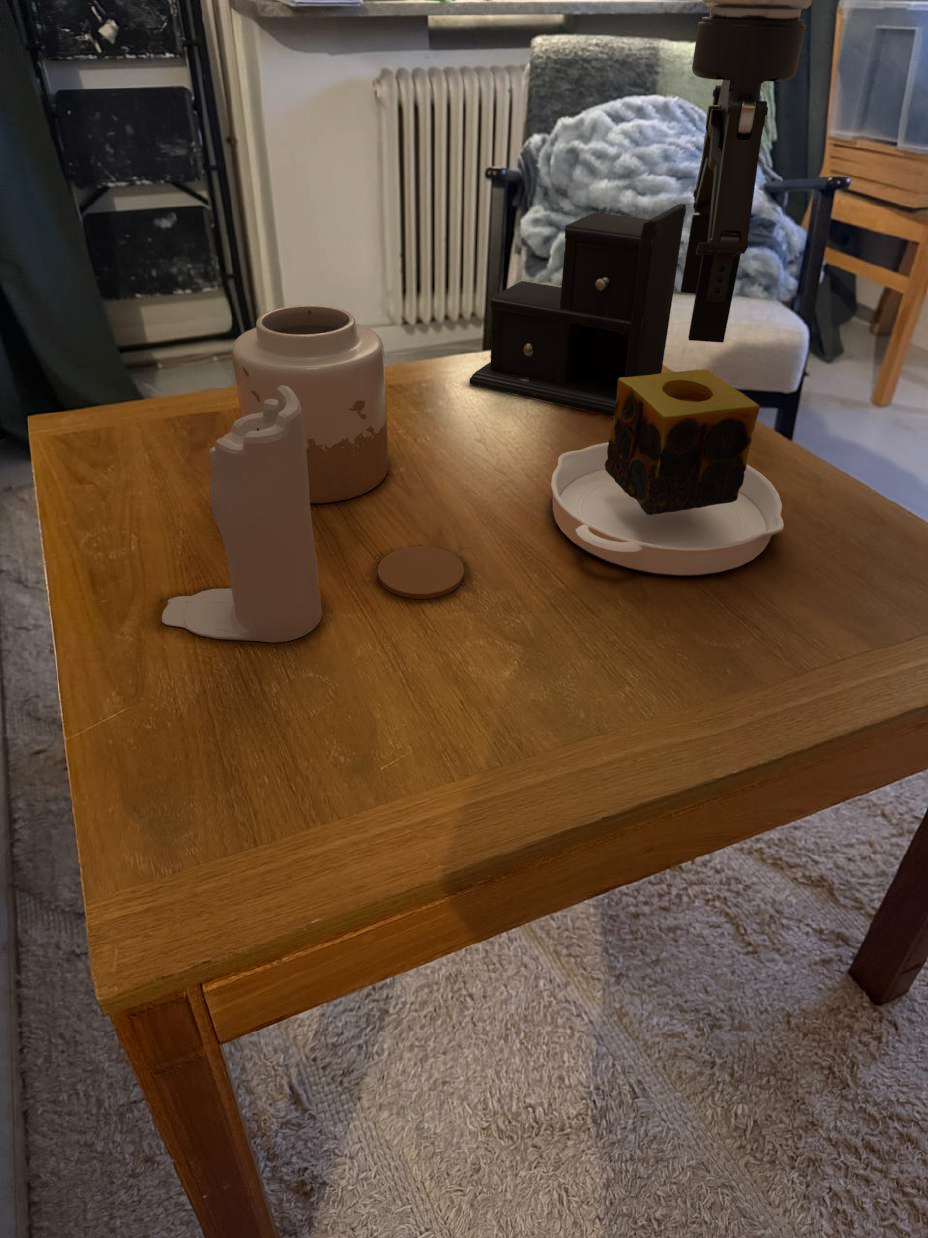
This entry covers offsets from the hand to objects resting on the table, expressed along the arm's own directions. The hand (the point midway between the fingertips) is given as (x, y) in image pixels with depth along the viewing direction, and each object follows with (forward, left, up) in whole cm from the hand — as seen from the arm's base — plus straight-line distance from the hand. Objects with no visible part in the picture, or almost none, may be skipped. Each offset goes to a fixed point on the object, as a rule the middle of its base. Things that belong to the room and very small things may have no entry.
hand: (700, 314), depth 74 cm
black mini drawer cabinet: (+12, -34, -22) cm, 42 cm away
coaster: (+22, +12, -22) cm, 33 cm away
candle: (0, -2, -18) cm, 18 cm away
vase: (+37, -6, -22) cm, 43 cm away
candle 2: (+36, +21, -22) cm, 47 cm away
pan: (0, -2, -22) cm, 22 cm away
